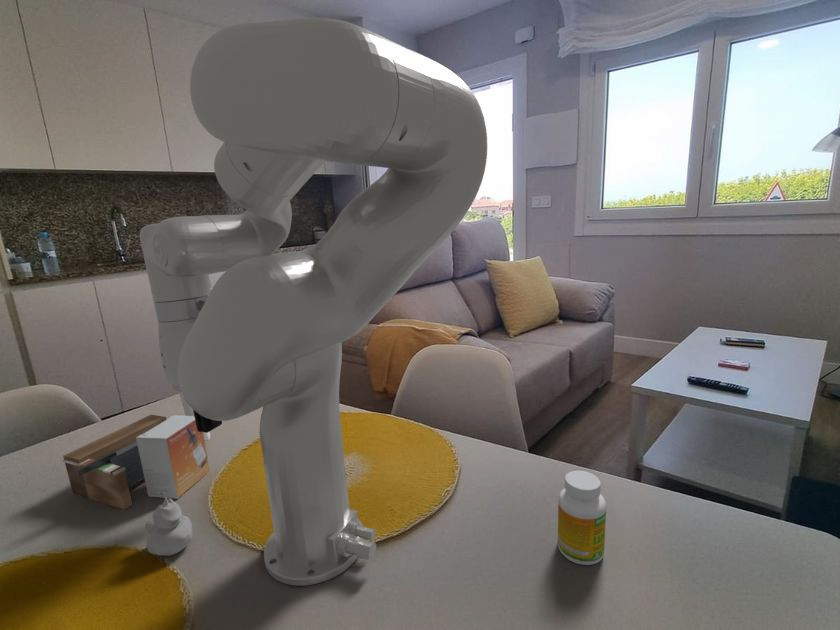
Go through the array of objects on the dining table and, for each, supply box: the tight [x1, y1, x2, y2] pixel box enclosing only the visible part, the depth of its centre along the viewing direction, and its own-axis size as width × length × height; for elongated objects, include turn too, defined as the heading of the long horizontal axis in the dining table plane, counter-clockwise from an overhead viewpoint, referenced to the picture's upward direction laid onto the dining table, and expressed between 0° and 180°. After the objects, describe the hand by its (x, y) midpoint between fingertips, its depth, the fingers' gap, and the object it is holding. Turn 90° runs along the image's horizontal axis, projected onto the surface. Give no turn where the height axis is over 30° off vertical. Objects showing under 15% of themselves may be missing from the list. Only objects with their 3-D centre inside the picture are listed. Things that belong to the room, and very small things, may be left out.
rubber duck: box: [144, 497, 193, 557], centre depth 57 cm, size 5×7×8 cm
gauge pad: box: [75, 441, 145, 488], centre depth 72 cm, size 3×16×6 cm, turn 159°
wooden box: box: [62, 414, 168, 510], centre depth 74 cm, size 12×16×7 cm
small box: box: [136, 414, 211, 500], centre depth 71 cm, size 8×6×10 cm
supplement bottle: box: [557, 470, 607, 566], centre depth 52 cm, size 5×5×10 cm
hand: (210, 428), depth 66 cm, fingers closed
